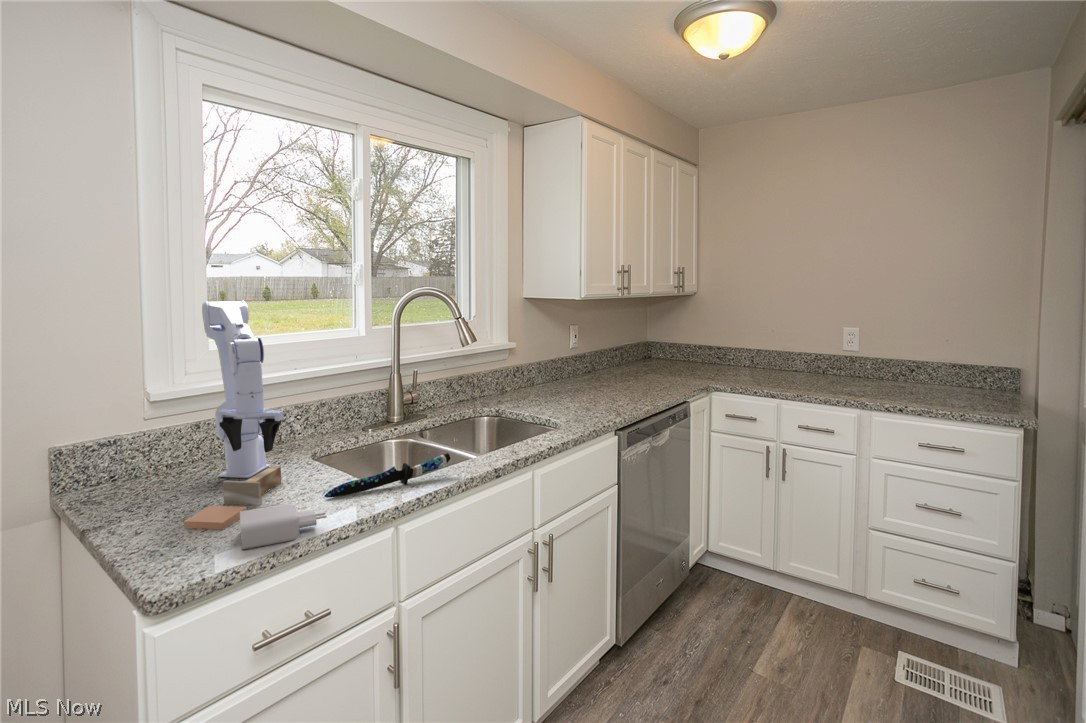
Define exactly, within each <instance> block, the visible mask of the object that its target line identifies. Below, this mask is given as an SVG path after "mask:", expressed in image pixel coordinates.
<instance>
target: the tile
mask: <svg viewBox="0 0 1086 723" xmlns="http://www.w3.org/2000/svg"><path fill="white" fill-rule="evenodd" d="M246 510H248V508H247V506H238V505H237V506H232V505H229V506H228V505H209V506H207V507H205V508H203V509H202V510H200V511H198V512H197V513H195V514H193V515H192V516H190V517H188V518H187V519H185V520H183V528H184V529H185V528H186V529H203V530H204V529H205V530H225V529H226V528H228V527H229V526H230V525H232V524H234V523H235V522H237V521H238V520H240V511H246Z"/></svg>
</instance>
